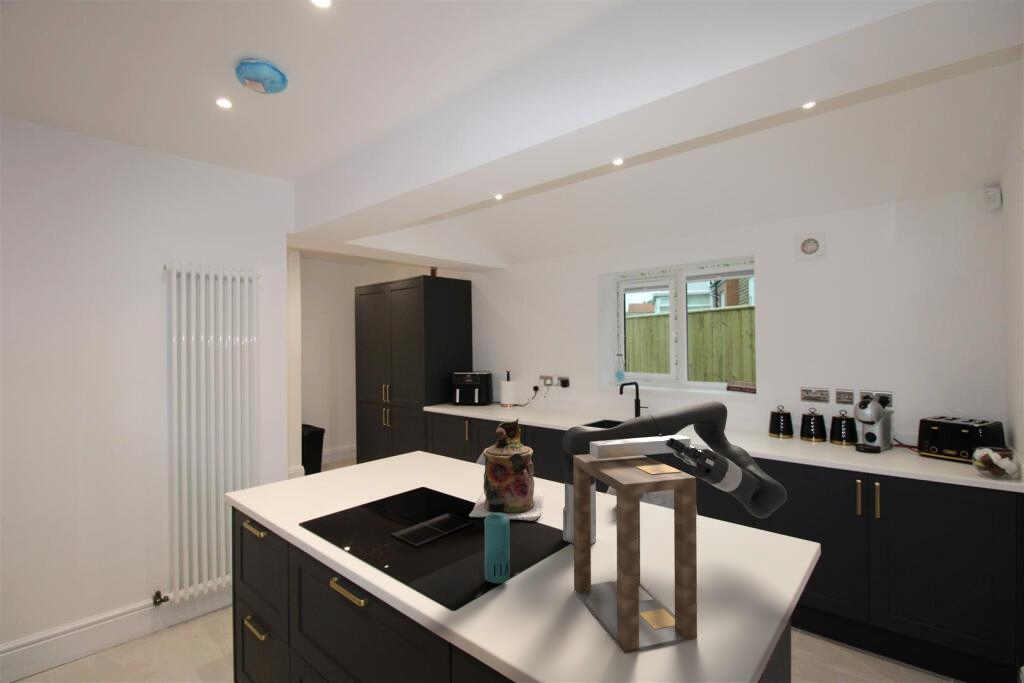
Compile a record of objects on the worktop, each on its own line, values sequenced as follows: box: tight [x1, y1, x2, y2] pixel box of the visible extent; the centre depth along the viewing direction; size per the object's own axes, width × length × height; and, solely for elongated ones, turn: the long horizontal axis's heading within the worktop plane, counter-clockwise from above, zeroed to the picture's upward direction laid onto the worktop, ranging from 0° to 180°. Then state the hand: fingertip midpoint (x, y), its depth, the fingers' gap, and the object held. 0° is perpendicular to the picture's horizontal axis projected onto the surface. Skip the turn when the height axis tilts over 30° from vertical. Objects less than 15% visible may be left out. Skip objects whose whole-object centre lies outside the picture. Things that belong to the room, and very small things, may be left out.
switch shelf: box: [573, 454, 698, 654], centre depth 103 cm, size 16×24×32 cm, turn 16°
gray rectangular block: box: [590, 434, 692, 459], centre depth 110 cm, size 24×4×3 cm, turn 106°
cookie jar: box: [468, 417, 546, 522], centre depth 168 cm, size 25×25×32 cm
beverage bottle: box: [483, 500, 511, 584], centre depth 116 cm, size 6×7×20 cm
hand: (663, 439), depth 111 cm, fingers closed on gray rectangular block, 4 cm apart
